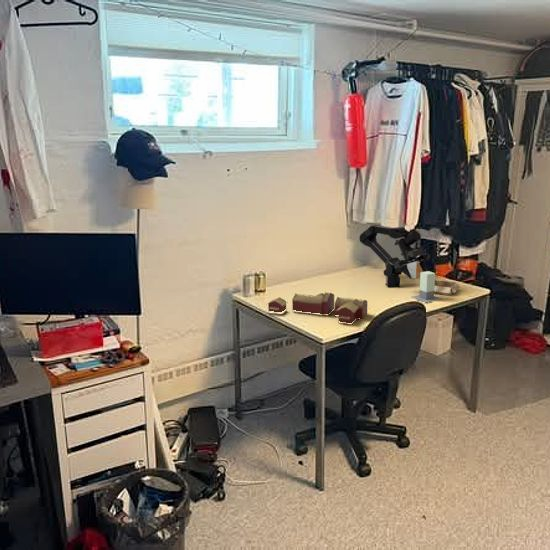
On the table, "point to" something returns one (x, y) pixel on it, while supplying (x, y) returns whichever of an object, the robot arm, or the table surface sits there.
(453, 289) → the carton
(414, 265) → the small box
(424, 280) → the box
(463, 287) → the table surface
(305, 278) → the table surface
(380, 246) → the robot arm
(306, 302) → the toy houses
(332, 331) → the table surface
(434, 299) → the coaster
